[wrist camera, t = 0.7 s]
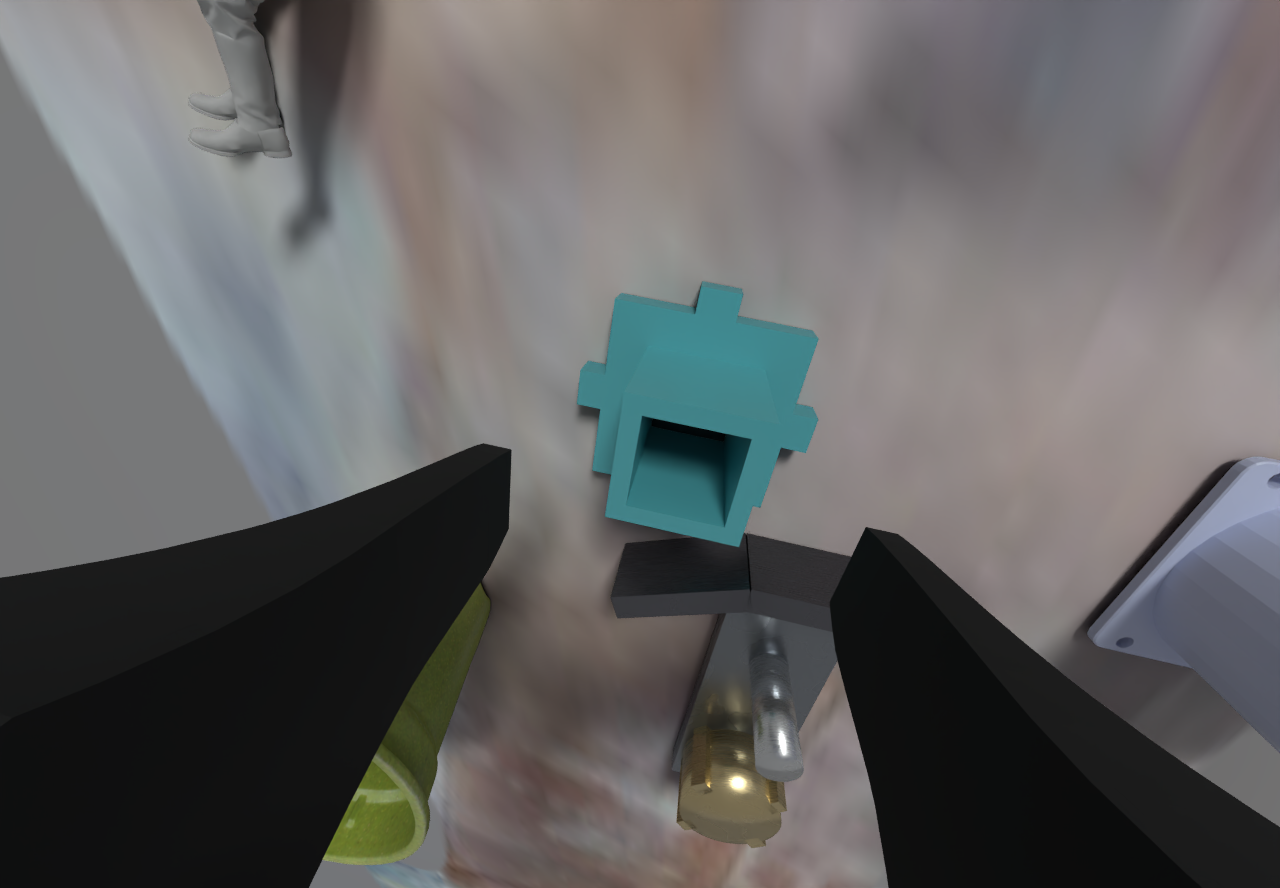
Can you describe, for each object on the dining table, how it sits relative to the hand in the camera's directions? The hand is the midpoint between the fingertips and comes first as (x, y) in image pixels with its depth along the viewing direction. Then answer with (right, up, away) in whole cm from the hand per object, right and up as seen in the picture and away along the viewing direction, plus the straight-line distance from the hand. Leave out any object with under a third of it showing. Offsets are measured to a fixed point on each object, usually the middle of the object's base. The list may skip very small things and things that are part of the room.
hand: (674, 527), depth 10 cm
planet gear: (+1, +3, +6) cm, 7 cm away
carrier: (+5, -9, +12) cm, 15 cm away
